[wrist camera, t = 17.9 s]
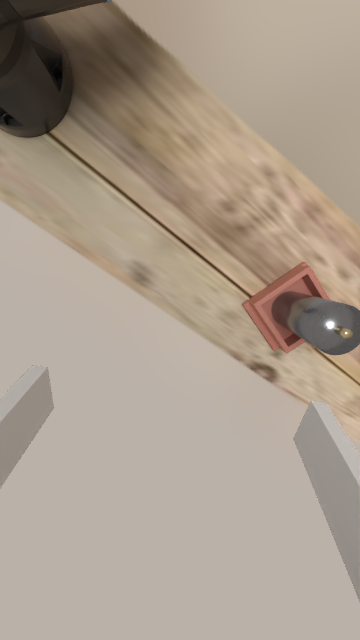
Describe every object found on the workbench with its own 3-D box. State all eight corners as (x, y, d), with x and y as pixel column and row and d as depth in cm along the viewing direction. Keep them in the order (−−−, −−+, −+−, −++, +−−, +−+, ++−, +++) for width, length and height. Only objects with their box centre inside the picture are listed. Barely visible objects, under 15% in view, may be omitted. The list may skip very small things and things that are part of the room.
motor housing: (264, 304, 42) (309, 327, 27) (296, 283, 41) (360, 295, 26) (282, 332, 43) (335, 370, 28) (313, 313, 42) (386, 340, 27)
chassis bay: (241, 304, 43) (248, 308, 39) (302, 262, 42) (315, 262, 38) (272, 348, 45) (281, 356, 41) (331, 310, 43) (346, 314, 39)
